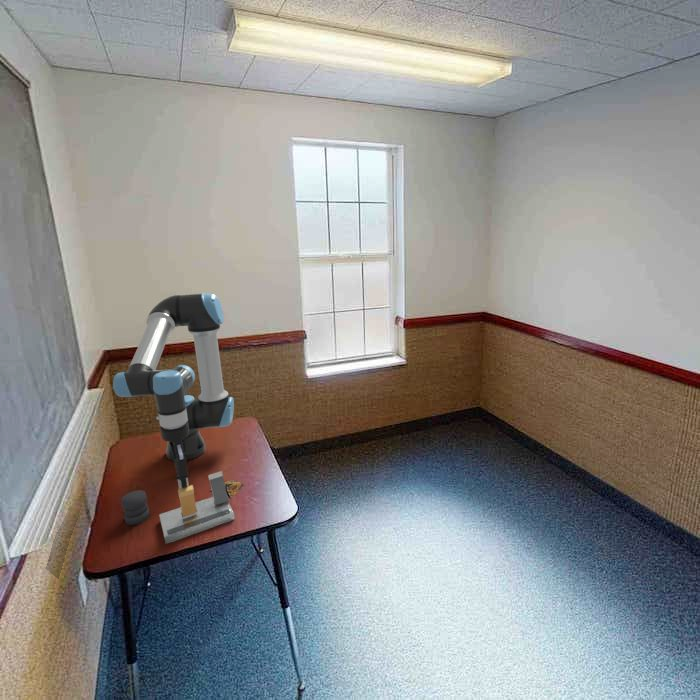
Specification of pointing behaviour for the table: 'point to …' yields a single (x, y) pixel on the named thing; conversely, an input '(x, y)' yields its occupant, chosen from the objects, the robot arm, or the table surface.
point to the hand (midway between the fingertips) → (185, 494)
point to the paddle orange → (187, 501)
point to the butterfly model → (233, 487)
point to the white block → (218, 488)
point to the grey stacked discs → (135, 507)
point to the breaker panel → (194, 519)
